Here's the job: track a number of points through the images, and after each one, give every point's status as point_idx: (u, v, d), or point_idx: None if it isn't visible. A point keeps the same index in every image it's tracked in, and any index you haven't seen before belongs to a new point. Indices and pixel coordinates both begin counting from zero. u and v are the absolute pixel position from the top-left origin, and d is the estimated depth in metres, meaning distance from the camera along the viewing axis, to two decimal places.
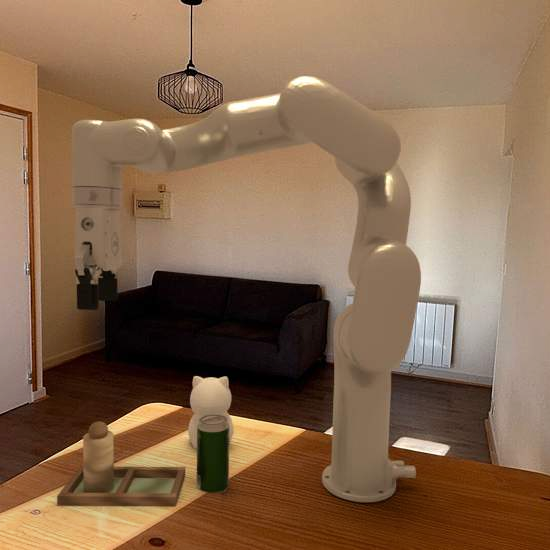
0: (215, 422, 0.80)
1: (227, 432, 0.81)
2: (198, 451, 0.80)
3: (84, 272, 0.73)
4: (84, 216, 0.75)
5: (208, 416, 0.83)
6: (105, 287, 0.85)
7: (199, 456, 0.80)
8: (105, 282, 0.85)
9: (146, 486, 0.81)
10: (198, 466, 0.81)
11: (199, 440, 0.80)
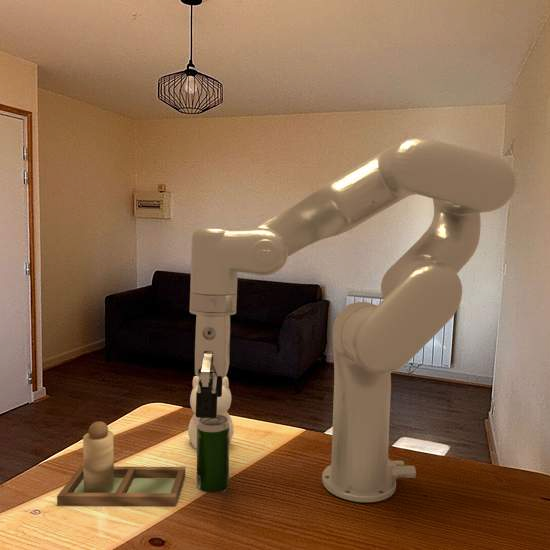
0: (215, 422, 0.80)
1: (227, 432, 0.81)
2: (198, 451, 0.80)
3: (208, 384, 0.73)
4: (206, 325, 0.75)
5: None
6: None
7: (199, 456, 0.80)
8: (211, 378, 0.85)
9: (146, 486, 0.81)
10: (198, 466, 0.81)
11: (199, 440, 0.80)
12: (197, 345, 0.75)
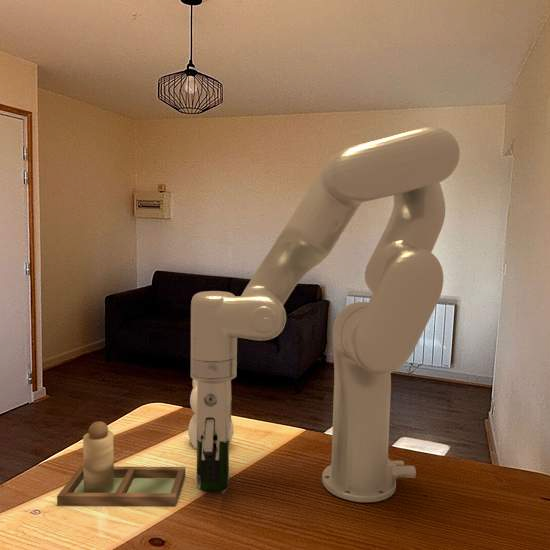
0: None
1: None
2: (198, 451, 0.80)
3: (212, 454, 0.76)
4: (207, 392, 0.76)
5: None
6: None
7: (199, 456, 0.80)
8: None
9: (146, 486, 0.81)
10: (198, 466, 0.81)
11: None
12: (199, 412, 0.76)
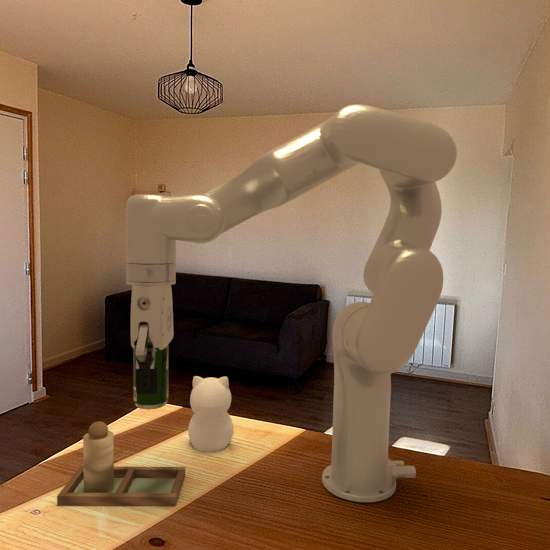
0: None
1: None
2: (134, 362, 0.77)
3: (145, 360, 0.72)
4: (141, 295, 0.73)
5: None
6: None
7: (135, 367, 0.77)
8: None
9: (146, 486, 0.81)
10: (134, 378, 0.77)
11: (135, 350, 0.76)
12: (132, 316, 0.73)
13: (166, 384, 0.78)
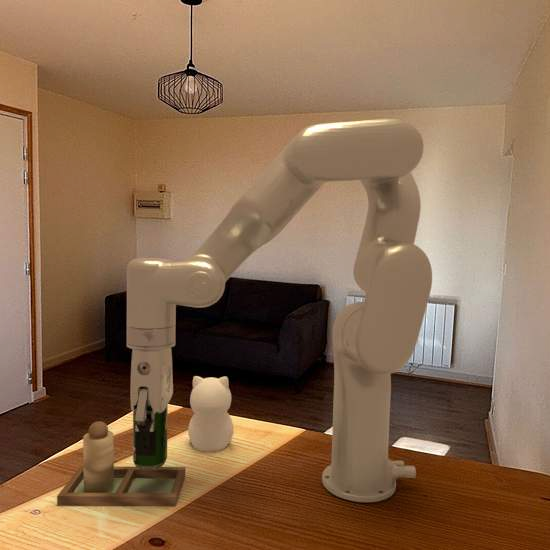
0: None
1: None
2: (134, 423, 0.78)
3: (145, 424, 0.73)
4: (141, 360, 0.73)
5: None
6: None
7: None
8: None
9: (146, 486, 0.81)
10: (134, 438, 0.78)
11: None
12: (132, 381, 0.74)
13: (165, 444, 0.79)
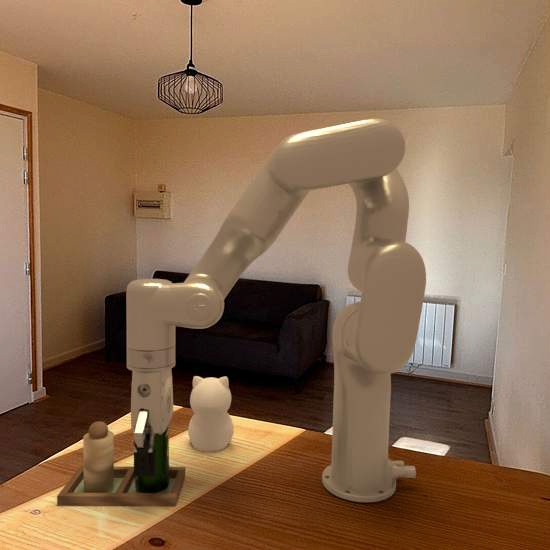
0: None
1: (165, 431, 0.78)
2: None
3: (143, 445, 0.72)
4: (141, 382, 0.74)
5: None
6: None
7: None
8: None
9: None
10: None
11: None
12: (132, 402, 0.74)
13: (167, 471, 0.79)
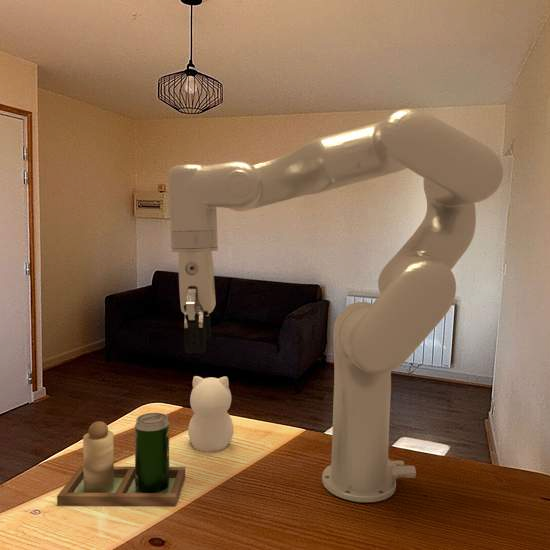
0: (153, 420, 0.78)
1: (166, 431, 0.78)
2: (136, 451, 0.78)
3: (194, 317, 0.74)
4: (188, 261, 0.76)
5: (148, 414, 0.80)
6: None
7: (136, 456, 0.78)
8: None
9: None
10: (136, 466, 0.78)
11: (136, 439, 0.78)
12: (181, 281, 0.76)
13: (167, 471, 0.79)
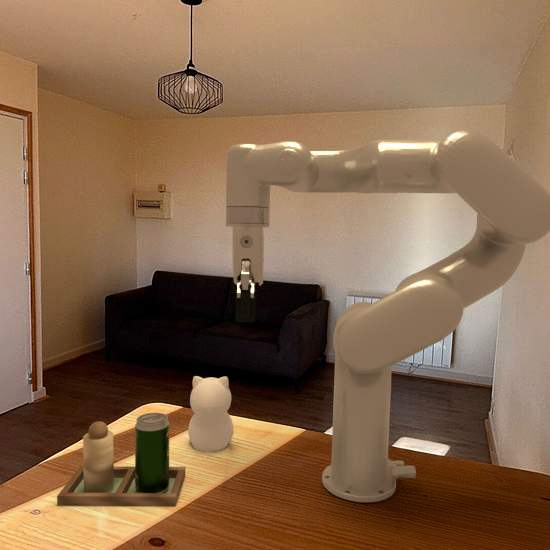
0: (153, 420, 0.78)
1: (166, 431, 0.78)
2: (136, 450, 0.78)
3: (248, 287, 0.78)
4: (243, 234, 0.80)
5: (148, 414, 0.81)
6: None
7: (137, 456, 0.78)
8: None
9: None
10: (136, 466, 0.78)
11: (136, 439, 0.78)
12: (235, 253, 0.80)
13: (167, 471, 0.79)
